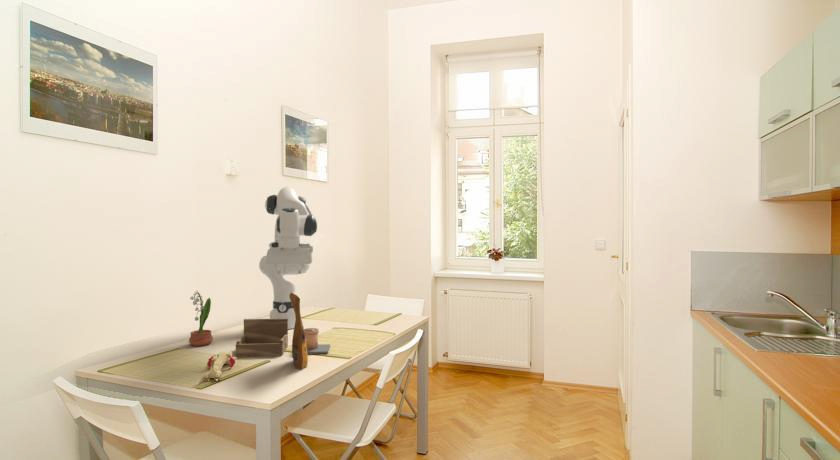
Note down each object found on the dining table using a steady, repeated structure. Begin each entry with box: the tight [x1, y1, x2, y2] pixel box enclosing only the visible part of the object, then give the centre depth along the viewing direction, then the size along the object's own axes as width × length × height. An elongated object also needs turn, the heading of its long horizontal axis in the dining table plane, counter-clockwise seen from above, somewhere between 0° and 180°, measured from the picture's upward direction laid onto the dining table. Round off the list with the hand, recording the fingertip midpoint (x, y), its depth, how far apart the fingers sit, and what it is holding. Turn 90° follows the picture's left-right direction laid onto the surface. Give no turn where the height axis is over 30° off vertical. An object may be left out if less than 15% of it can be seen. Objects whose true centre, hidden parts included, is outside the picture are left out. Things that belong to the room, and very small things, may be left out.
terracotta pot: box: [304, 327, 320, 350], centre depth 207 cm, size 7×7×8 cm
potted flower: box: [188, 290, 214, 347], centre depth 214 cm, size 12×10×25 cm
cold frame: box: [235, 318, 289, 358], centre depth 204 cm, size 14×19×13 cm
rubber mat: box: [307, 343, 331, 355], centre depth 207 cm, size 12×11×1 cm
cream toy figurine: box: [202, 350, 238, 382], centre depth 177 cm, size 10×9×25 cm
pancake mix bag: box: [290, 292, 309, 370], centre depth 187 cm, size 7×19×28 cm, turn 17°
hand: (289, 273), depth 214 cm, fingers open, 8 cm apart
